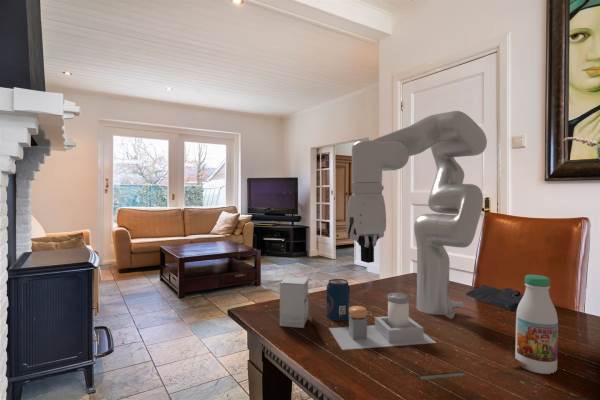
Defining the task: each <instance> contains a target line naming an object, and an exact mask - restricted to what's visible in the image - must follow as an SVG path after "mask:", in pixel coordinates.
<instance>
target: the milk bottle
mask: <svg viewBox="0 0 600 400" xmlns="http://www.w3.org/2000/svg"><path fill="white" fill-rule="evenodd" d="M524 286H525V291H524V293H523V294H524V296H523V297H522V299H521V301H520V303H519V305H518V308H517V312H516V315H515V317H516V318H515V342H514V343H515V349H514V350H515V353H514V355H515V356H514V357H515V360H518V362H520V363H522V364H523V365H520V367H521V368H523V369H524V370H527V371H529V372H531V373H535V374H540V375H552V374H551V373H553V374H555V373H556V372H557V370H558V348H559V347H558V345H559V344H558V343H559V342H558V341H559V324H558V323H559V321H558V320H559V319H558V318H559V317H558V313H557V310H556V308H555V305H554V303H553V301H552V299H551V297H550V293H549V289H551V279H550V278H549V277H547V276H545V275H538V274H527V275H525V276H524ZM554 372H555V373H554Z"/></svg>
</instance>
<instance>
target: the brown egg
mask: <svg viewBox="0 0 600 400" xmlns="http://www.w3.org/2000/svg"><path fill="white" fill-rule="evenodd" d="M367 312H368V311H367V308H366V307H364V306H361V305H353V306H350V308H349V315H350V316H351V317H354V318H355V319H361V318H364V317H365V318H366V317H367Z"/></svg>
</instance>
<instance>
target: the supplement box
mask: <svg viewBox="0 0 600 400" xmlns="http://www.w3.org/2000/svg"><path fill="white" fill-rule="evenodd" d="M308 320H309V278H308V277H293V276H292V277H290V276H286V277H284V278H283V280H282V281H281V282H279V326H280V327H286V328H287V327H290V328H300V329H301V328H302V329H304V328H305V325H306V323H307V321H308Z"/></svg>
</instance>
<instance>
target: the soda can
mask: <svg viewBox="0 0 600 400" xmlns="http://www.w3.org/2000/svg"><path fill="white" fill-rule="evenodd" d="M325 305H326V309H325V311H326V314H325V315H326V318H327V319H329V320H332V321H336V322H338V321H347V320H349V308H350V307H351V287H350V285H349V281H348V280H346V279H343V278H332V279H329V280H328V282H327V285H326V304H325Z"/></svg>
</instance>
